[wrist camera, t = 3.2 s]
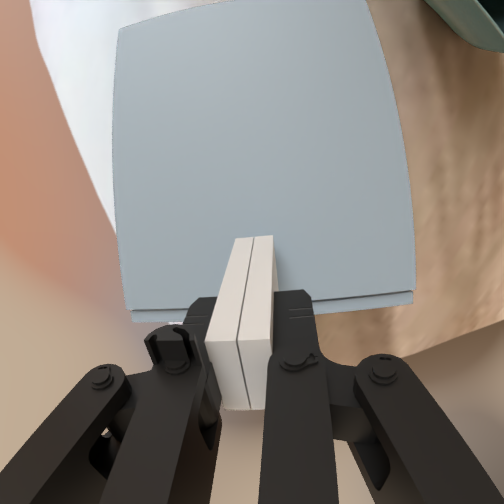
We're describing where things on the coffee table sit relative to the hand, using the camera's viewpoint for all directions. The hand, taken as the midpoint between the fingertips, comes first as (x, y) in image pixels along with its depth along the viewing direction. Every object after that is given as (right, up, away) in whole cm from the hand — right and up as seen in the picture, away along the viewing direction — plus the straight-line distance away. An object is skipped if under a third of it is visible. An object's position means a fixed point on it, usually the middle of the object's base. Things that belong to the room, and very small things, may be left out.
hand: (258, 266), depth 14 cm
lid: (0, +6, +3) cm, 7 cm away
